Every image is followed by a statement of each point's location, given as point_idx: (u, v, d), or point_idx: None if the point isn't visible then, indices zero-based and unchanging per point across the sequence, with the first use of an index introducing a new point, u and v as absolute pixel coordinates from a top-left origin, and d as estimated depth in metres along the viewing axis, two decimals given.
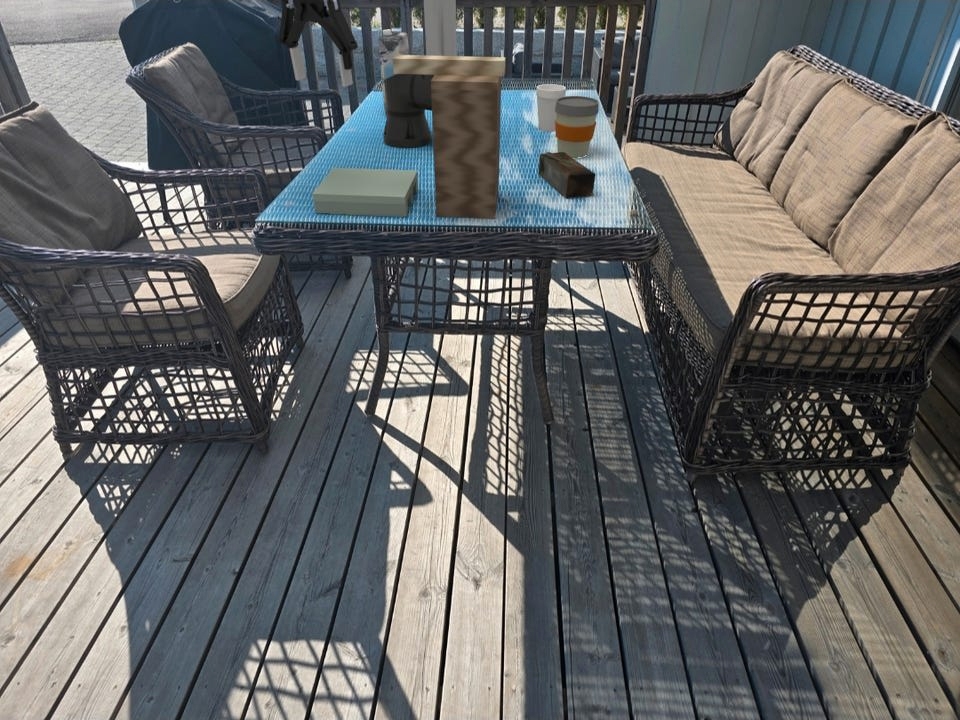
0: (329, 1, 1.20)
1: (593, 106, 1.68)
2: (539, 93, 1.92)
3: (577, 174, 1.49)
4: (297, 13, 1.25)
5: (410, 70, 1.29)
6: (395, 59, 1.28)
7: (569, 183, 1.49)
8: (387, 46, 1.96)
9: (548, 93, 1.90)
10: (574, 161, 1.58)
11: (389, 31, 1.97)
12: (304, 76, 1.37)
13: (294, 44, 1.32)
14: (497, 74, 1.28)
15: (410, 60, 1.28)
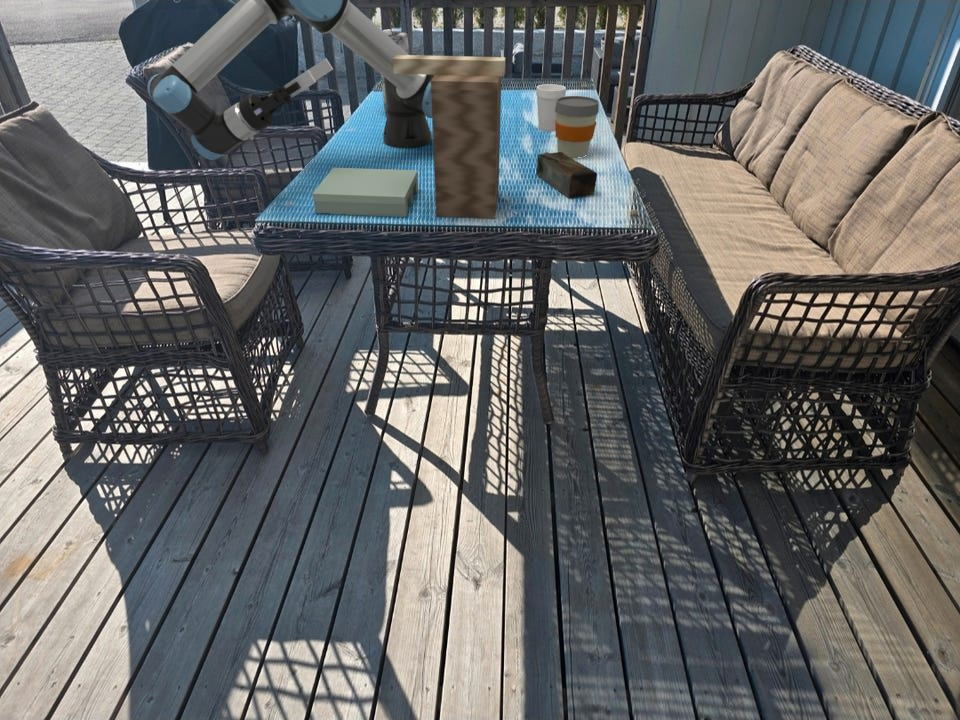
0: (260, 117, 1.33)
1: (593, 106, 1.68)
2: (539, 93, 1.92)
3: (579, 174, 1.49)
4: None
5: (410, 70, 1.29)
6: (395, 59, 1.28)
7: (571, 183, 1.49)
8: None
9: (548, 93, 1.90)
10: (573, 161, 1.58)
11: (389, 31, 1.97)
12: (325, 61, 1.37)
13: None
14: (497, 74, 1.28)
15: (410, 60, 1.28)
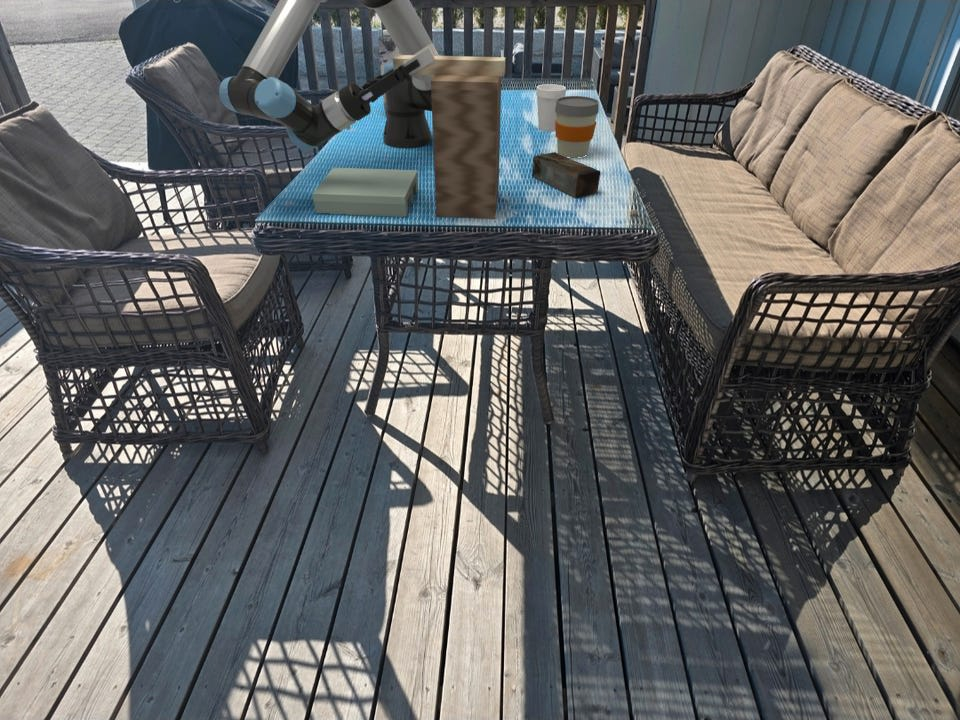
0: (368, 103, 1.30)
1: (593, 106, 1.68)
2: (539, 93, 1.92)
3: (585, 173, 1.50)
4: None
5: None
6: (395, 59, 1.28)
7: (578, 183, 1.50)
8: (387, 46, 1.96)
9: (548, 93, 1.90)
10: (571, 160, 1.58)
11: None
12: (431, 46, 1.29)
13: None
14: (497, 74, 1.28)
15: None
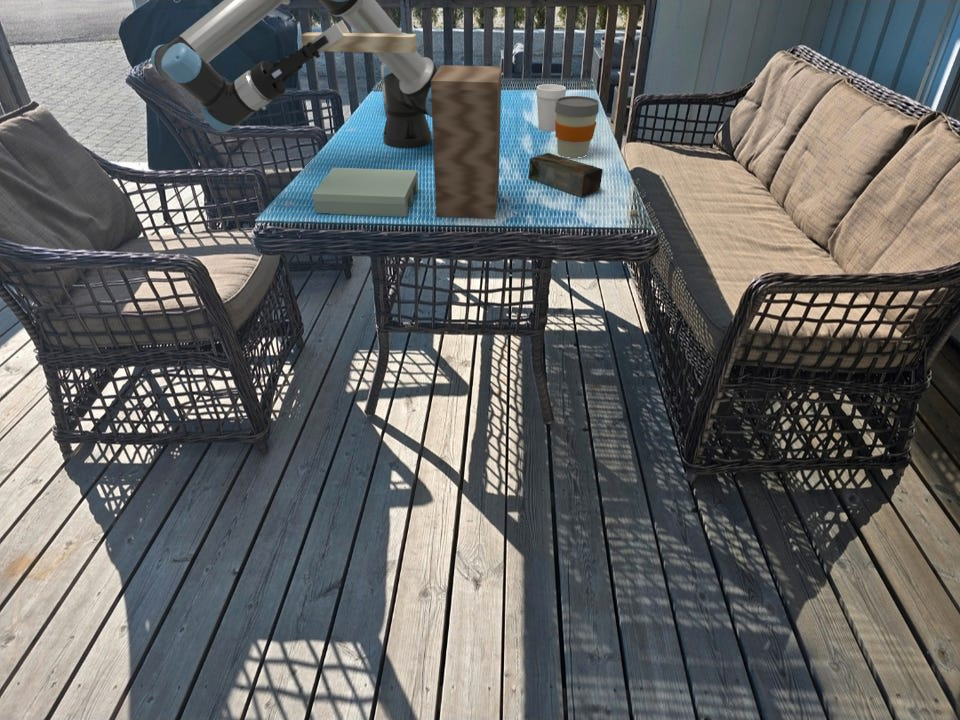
0: (278, 80, 1.28)
1: (593, 106, 1.68)
2: (539, 93, 1.92)
3: (589, 172, 1.50)
4: (296, 71, 1.34)
5: None
6: (304, 35, 1.26)
7: (584, 182, 1.50)
8: None
9: (548, 93, 1.90)
10: (569, 160, 1.58)
11: None
12: (341, 23, 1.28)
13: None
14: (407, 51, 1.26)
15: None
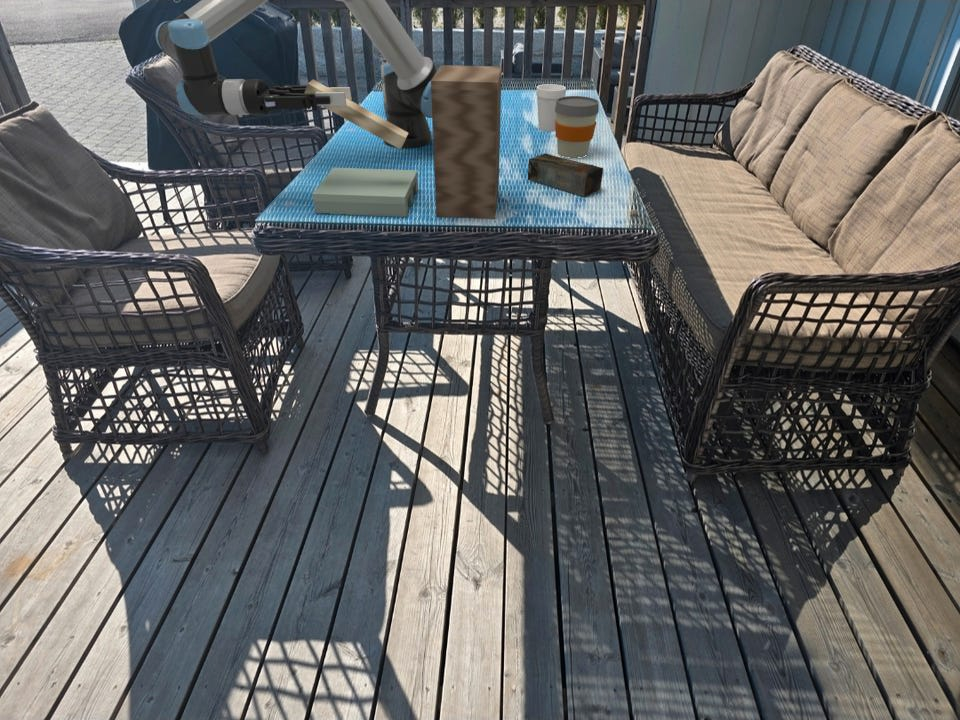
0: (268, 110, 1.32)
1: (593, 106, 1.68)
2: (539, 93, 1.92)
3: (591, 171, 1.51)
4: None
5: None
6: (310, 85, 1.32)
7: (587, 182, 1.50)
8: None
9: (548, 93, 1.90)
10: (568, 160, 1.58)
11: None
12: (347, 90, 1.36)
13: None
14: (395, 145, 1.39)
15: None
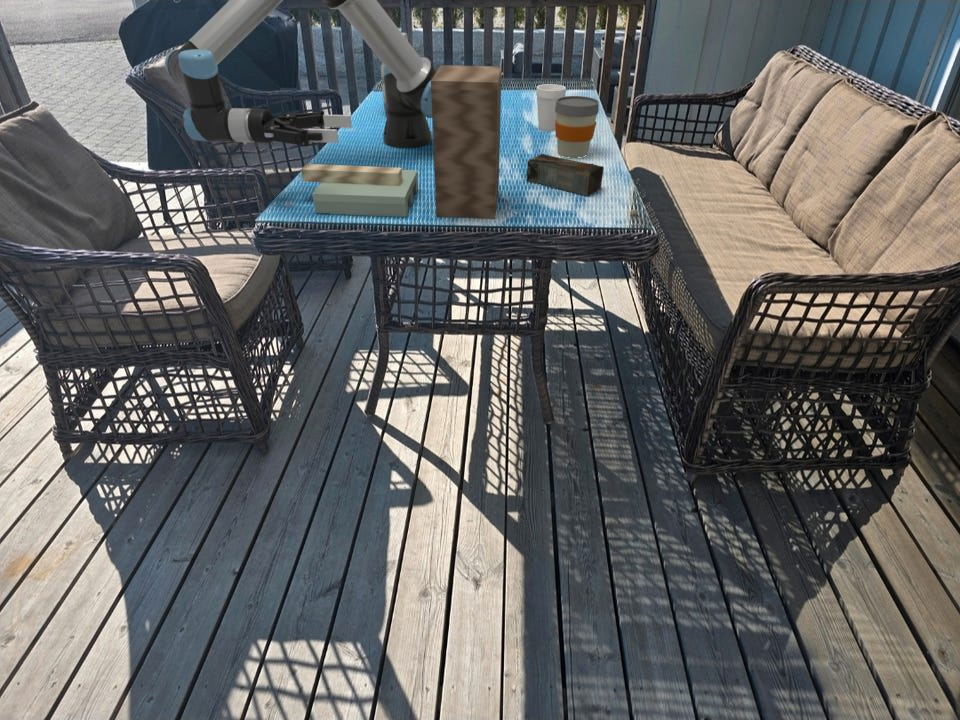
0: (267, 140, 1.36)
1: (593, 106, 1.68)
2: (539, 93, 1.92)
3: (594, 170, 1.51)
4: None
5: (317, 178, 1.46)
6: (303, 169, 1.45)
7: (590, 181, 1.51)
8: None
9: (548, 93, 1.90)
10: (567, 160, 1.58)
11: None
12: (348, 118, 1.43)
13: (322, 118, 1.45)
14: (393, 184, 1.45)
15: (316, 171, 1.45)
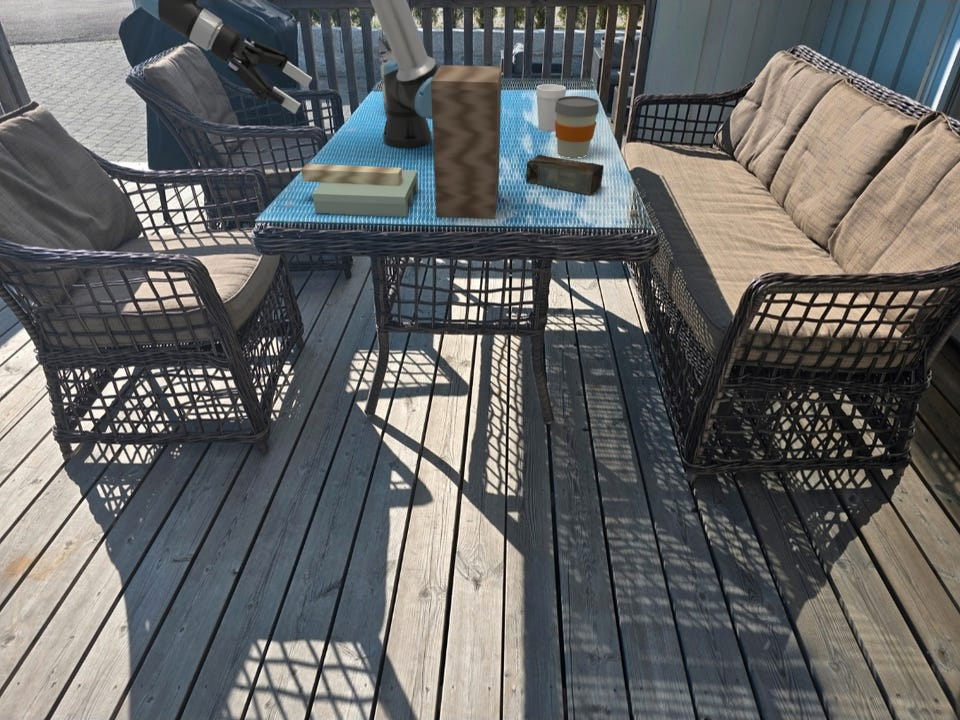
0: None
1: (593, 106, 1.68)
2: (539, 93, 1.92)
3: (595, 169, 1.52)
4: None
5: (317, 178, 1.46)
6: (303, 169, 1.45)
7: (593, 180, 1.51)
8: (387, 46, 1.96)
9: (548, 93, 1.90)
10: (566, 160, 1.58)
11: None
12: (309, 80, 1.47)
13: (283, 63, 1.45)
14: (393, 184, 1.45)
15: (316, 171, 1.45)
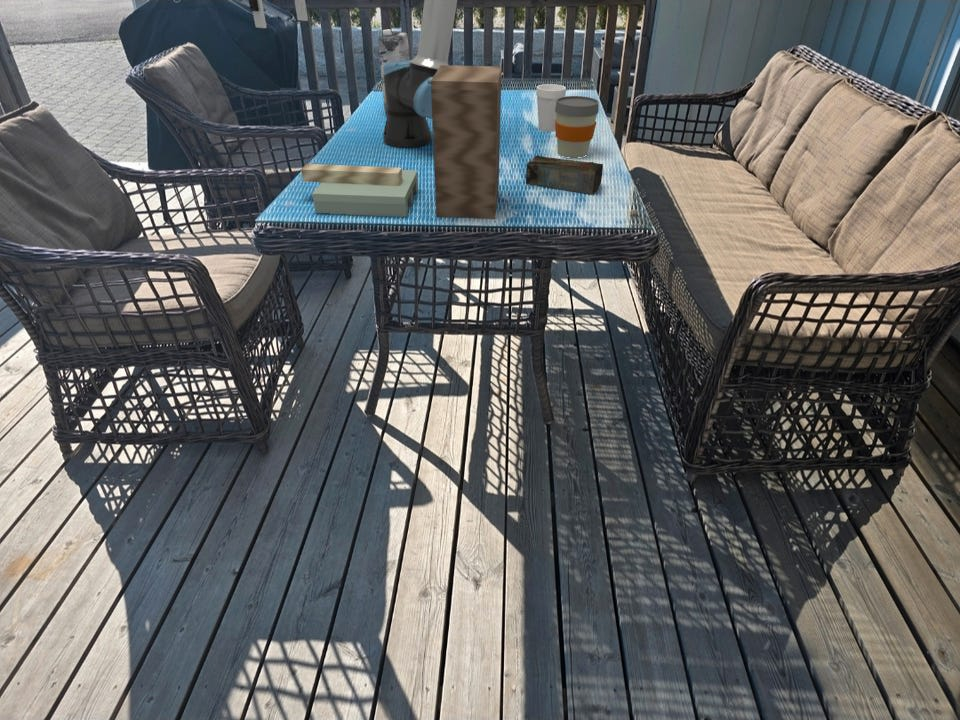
0: None
1: (593, 106, 1.68)
2: (539, 93, 1.92)
3: (597, 169, 1.52)
4: None
5: (317, 178, 1.46)
6: (303, 169, 1.45)
7: (595, 179, 1.52)
8: (387, 46, 1.96)
9: (548, 93, 1.90)
10: (565, 160, 1.58)
11: (389, 31, 1.97)
12: (303, 18, 1.45)
13: None
14: (393, 184, 1.45)
15: (316, 171, 1.45)
